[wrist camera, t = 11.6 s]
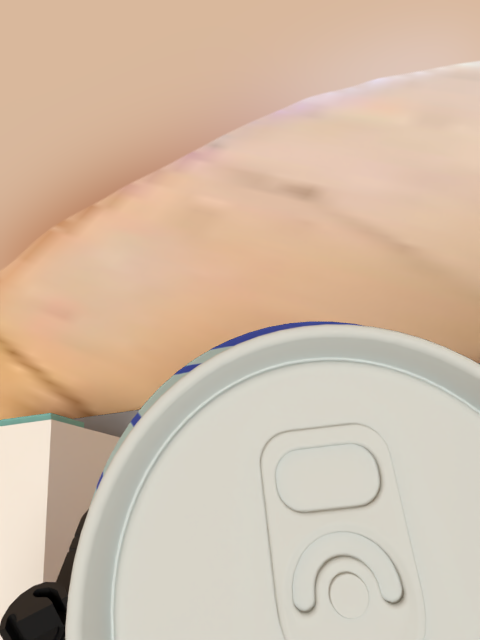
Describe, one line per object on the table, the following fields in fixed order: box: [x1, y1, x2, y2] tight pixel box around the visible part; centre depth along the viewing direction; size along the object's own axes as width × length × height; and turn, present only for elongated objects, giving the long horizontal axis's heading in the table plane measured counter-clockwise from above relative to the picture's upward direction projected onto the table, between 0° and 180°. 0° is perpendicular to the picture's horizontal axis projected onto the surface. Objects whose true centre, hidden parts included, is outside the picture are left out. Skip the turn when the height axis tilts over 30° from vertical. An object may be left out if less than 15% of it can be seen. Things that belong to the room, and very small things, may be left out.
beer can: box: [65, 322, 480, 640], centre depth 12 cm, size 8×8×16 cm
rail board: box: [0, 363, 480, 640], centre depth 21 cm, size 38×14×12 cm, turn 97°
